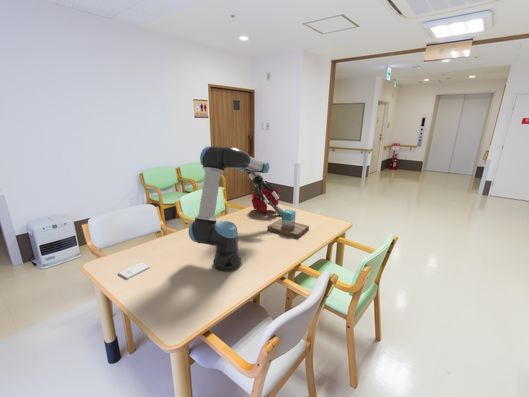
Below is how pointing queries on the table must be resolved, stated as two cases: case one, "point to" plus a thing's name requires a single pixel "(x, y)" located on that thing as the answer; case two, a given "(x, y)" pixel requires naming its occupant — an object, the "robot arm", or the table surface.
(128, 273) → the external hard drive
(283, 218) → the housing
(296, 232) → the walnut stand
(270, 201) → the bouquet
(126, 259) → the table surface
